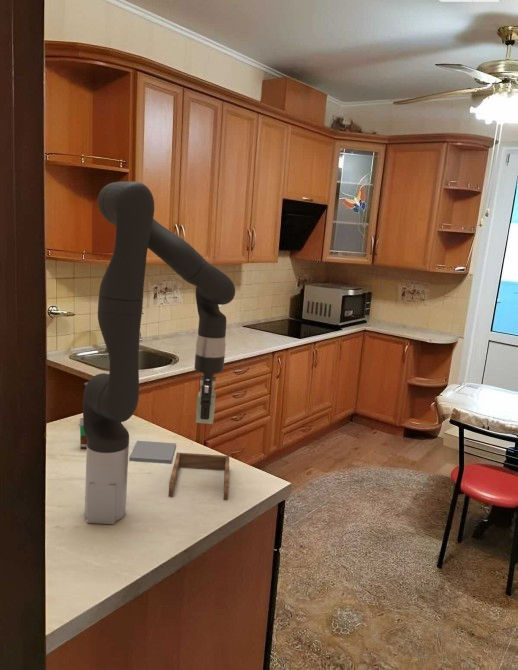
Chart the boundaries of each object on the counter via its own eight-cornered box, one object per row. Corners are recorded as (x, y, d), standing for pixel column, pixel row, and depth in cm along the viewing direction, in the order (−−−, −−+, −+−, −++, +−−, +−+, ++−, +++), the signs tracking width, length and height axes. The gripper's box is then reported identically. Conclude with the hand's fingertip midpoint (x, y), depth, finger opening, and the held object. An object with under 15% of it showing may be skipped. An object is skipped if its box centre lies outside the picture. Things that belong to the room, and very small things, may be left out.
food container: (99, 453, 151) (100, 420, 149) (78, 451, 151) (79, 418, 149) (112, 436, 163) (113, 406, 161) (92, 434, 163) (93, 404, 161)
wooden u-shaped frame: (227, 500, 132) (228, 485, 131) (168, 496, 131) (169, 481, 130) (228, 468, 149) (229, 456, 148) (176, 465, 148) (176, 452, 147)
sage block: (212, 423, 134) (215, 398, 132) (195, 422, 134) (197, 396, 132) (213, 417, 138) (215, 392, 137) (196, 416, 138) (198, 391, 137)
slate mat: (171, 463, 149) (171, 460, 148) (129, 460, 148) (129, 457, 148) (175, 446, 160) (176, 443, 160) (137, 443, 160) (137, 440, 159)
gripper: (224, 360, 126) (218, 426, 129) (225, 347, 140) (220, 407, 143) (193, 358, 125) (188, 424, 128) (197, 345, 139) (193, 405, 142)
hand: (205, 415), depth 136 cm, fingers closed on sage block, 4 cm apart
